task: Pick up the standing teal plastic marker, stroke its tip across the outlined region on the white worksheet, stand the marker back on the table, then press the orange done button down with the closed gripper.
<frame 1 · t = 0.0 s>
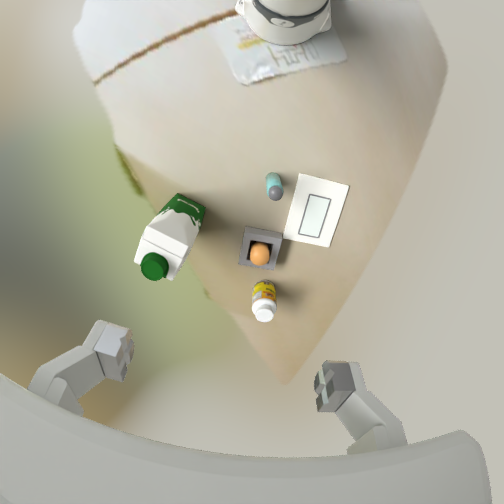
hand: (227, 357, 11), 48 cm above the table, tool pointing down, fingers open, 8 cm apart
supplement bottle: (264, 287, 68), on the table
done button: (259, 253, 59), point 4 cm above the table, slide at 0.0 cm
worksheet: (315, 211, 58), on the table
button housing: (259, 245, 62), on the table
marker: (272, 179, 55), on the table
milk carton: (185, 212, 59), on the table
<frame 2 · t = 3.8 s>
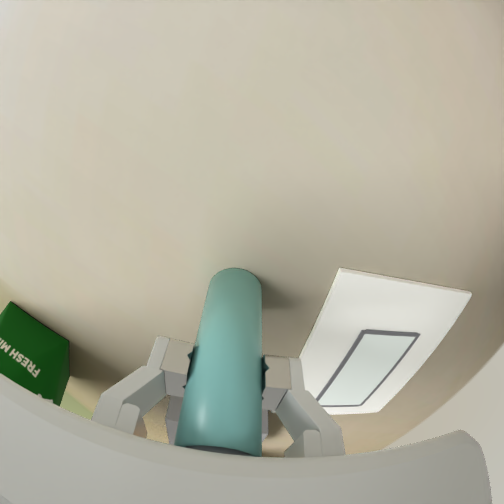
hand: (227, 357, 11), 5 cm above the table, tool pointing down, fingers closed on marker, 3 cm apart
worksheet: (367, 363, 18), on the table
button housing: (215, 416, 22), on the table
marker: (235, 290, 15), on the table, touching gripper
milk carton: (41, 340, 19), on the table
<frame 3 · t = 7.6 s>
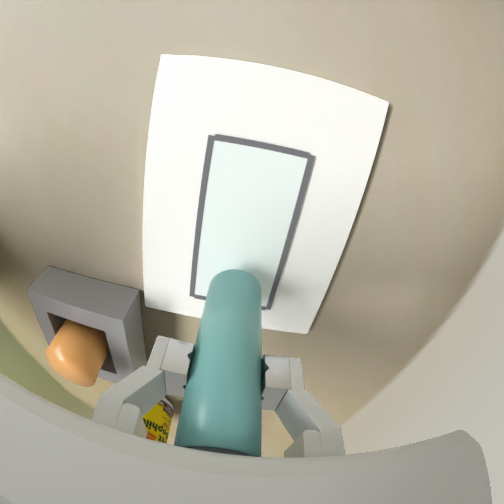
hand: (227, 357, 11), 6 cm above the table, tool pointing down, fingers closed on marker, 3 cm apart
supplement bottle: (149, 397, 25), on the table
done button: (78, 351, 15), point 4 cm above the table, slide at 0.0 cm
worksheet: (247, 213, 14), on the table
button housing: (97, 318, 19), on the table
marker: (235, 291, 15), point 2 cm above the table, touching gripper
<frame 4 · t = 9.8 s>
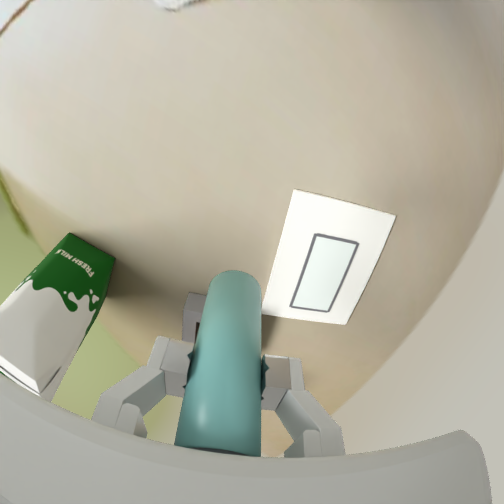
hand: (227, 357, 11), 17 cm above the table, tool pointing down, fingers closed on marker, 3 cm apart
worksheet: (325, 266, 29), on the table
button housing: (219, 322, 33), on the table
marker: (234, 292, 15), point 13 cm above the table, touching gripper
milk carton: (88, 265, 30), on the table
when the fingers open (5 cm above the table, at t = 11.7 s): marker stays where it is, on the table.
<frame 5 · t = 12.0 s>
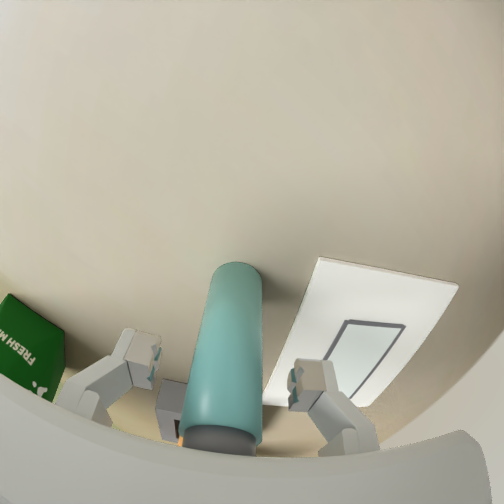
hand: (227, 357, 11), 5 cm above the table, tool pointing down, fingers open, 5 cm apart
done button: (201, 440, 20), point 4 cm above the table, slide at 0.0 cm
worksheet: (353, 354, 18), on the table
button housing: (206, 408, 23), on the table
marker: (236, 283, 15), on the table
milk carton: (38, 331, 20), on the table
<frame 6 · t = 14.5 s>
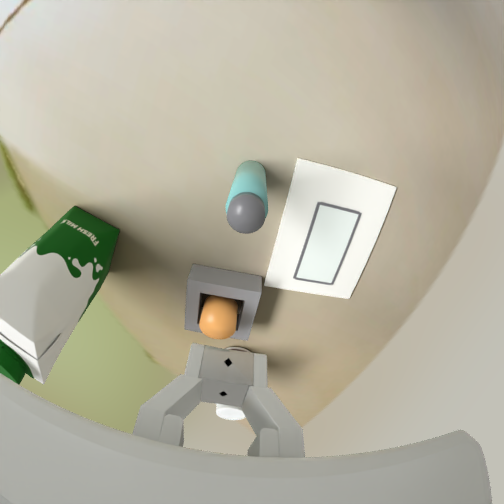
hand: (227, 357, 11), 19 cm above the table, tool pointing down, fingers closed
supplement bottle: (236, 355, 40), on the table
done button: (219, 316, 30), point 4 cm above the table, slide at 0.0 cm
worksheet: (328, 237, 29), on the table
button housing: (222, 296, 34), on the table
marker: (250, 174, 26), on the table
milk carton: (92, 239, 30), on the table
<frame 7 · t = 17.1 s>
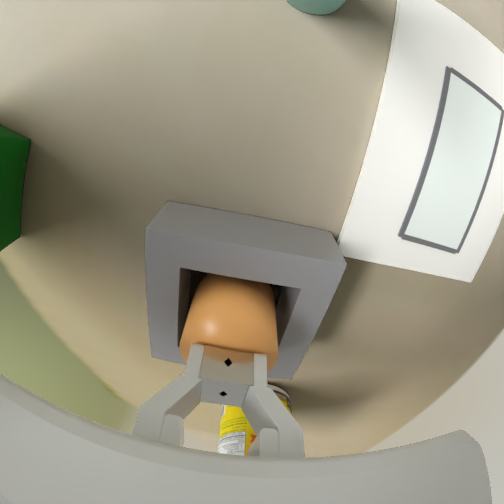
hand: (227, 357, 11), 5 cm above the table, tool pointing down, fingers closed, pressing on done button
supplement bottle: (256, 394, 21), on the table
done button: (231, 326, 12), point 3 cm above the table, slide at 0.4 cm, touching gripper
worksheet: (461, 148, 10), on the table
button housing: (236, 283, 15), on the table
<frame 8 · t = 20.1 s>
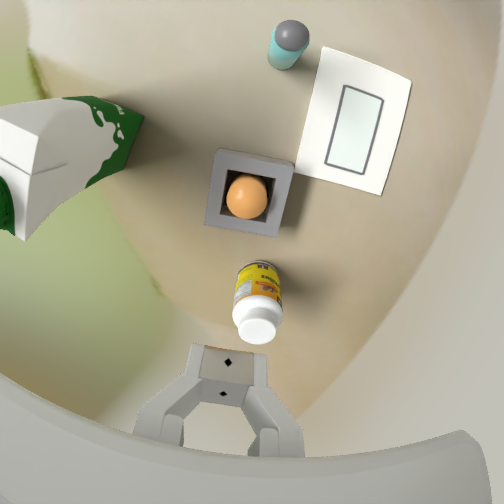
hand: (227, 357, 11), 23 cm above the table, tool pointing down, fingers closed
supplement bottle: (258, 275, 37), on the table
done button: (247, 195, 29), point 2 cm above the table, slide at 1.1 cm
worksheet: (355, 121, 26), on the table
button housing: (248, 188, 31), on the table
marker: (281, 58, 23), on the table
milk carton: (111, 132, 27), on the table
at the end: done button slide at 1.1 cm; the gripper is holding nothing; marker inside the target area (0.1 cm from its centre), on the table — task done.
